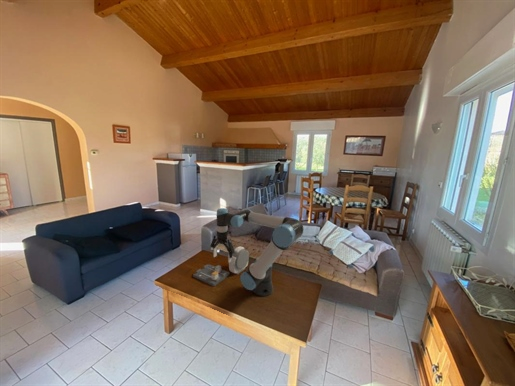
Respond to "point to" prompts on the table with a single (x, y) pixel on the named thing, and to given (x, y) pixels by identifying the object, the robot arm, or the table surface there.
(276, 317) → the table surface
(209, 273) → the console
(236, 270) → the alarm clock
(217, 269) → the fader
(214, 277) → the fader
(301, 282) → the table surface
